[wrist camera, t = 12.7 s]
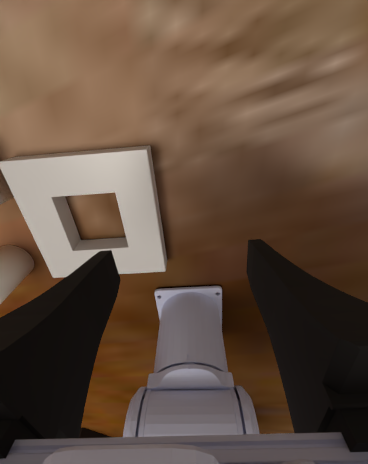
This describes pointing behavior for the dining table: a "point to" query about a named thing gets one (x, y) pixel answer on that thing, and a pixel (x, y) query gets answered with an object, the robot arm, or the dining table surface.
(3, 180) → the button housing
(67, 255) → the white square frame
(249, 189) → the dining table surface
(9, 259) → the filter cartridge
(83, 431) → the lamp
